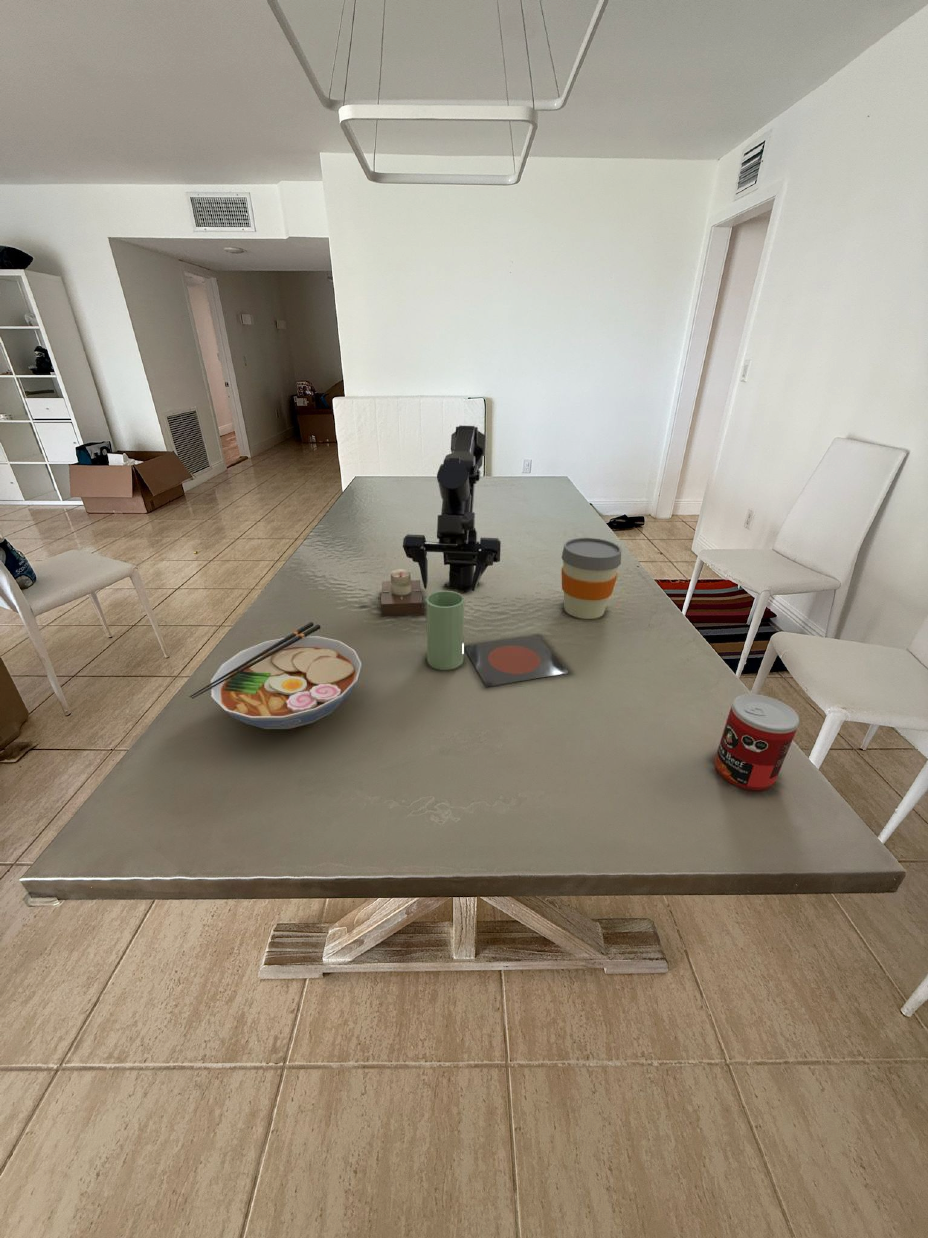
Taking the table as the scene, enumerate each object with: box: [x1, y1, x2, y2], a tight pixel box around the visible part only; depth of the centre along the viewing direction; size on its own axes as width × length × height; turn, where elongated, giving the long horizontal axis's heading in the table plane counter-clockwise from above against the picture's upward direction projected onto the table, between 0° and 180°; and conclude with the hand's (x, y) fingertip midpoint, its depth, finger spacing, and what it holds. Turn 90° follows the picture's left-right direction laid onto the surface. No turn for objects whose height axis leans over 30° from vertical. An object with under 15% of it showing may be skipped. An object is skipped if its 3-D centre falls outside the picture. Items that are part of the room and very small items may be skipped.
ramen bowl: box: [189, 621, 363, 730], centre depth 84 cm, size 25×23×8 cm
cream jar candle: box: [390, 569, 412, 595], centre depth 117 cm, size 4×4×5 cm
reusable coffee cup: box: [560, 537, 622, 620], centre depth 115 cm, size 13×13×15 cm
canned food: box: [714, 693, 800, 791], centre depth 72 cm, size 8×8×11 cm
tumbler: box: [425, 590, 465, 671], centre depth 96 cm, size 7×7×13 cm
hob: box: [464, 635, 570, 688], centre depth 99 cm, size 14×16×1 cm
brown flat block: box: [380, 579, 424, 617], centre depth 119 cm, size 12×9×3 cm
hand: (449, 589), depth 99 cm, fingers open, 9 cm apart
